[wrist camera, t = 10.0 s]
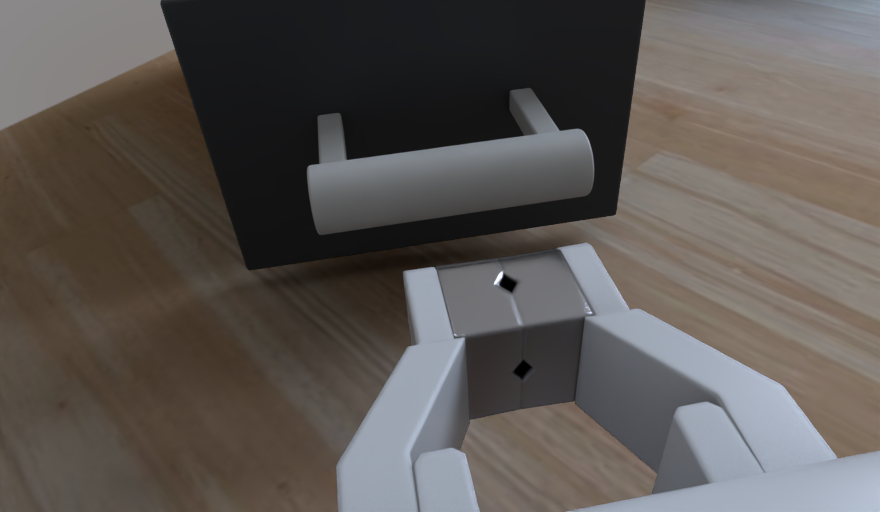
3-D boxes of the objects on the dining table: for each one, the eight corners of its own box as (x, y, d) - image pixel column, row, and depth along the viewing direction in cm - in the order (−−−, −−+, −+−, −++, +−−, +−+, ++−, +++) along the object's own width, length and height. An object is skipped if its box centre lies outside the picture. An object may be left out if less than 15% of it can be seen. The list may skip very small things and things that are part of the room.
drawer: (678, 308, 17) (752, 1, 12) (235, 382, 16) (114, 78, 11) (508, 55, 30) (510, -135, 25) (266, 85, 29) (219, -107, 24)
